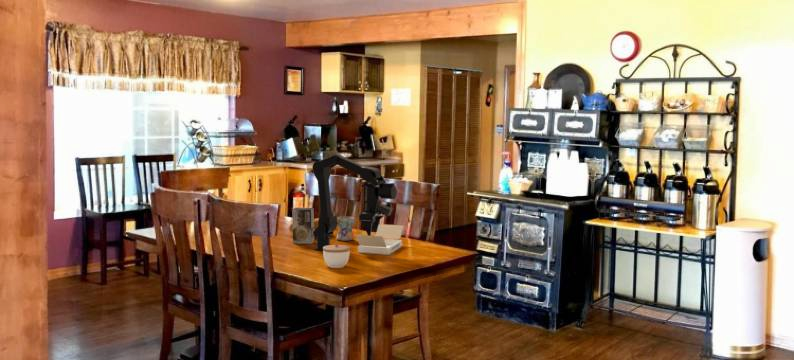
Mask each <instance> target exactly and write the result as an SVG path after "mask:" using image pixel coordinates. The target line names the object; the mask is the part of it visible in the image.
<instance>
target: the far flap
mask: <svg viewBox="0 0 794 360" xmlns="http://www.w3.org/2000/svg"><path fill="white" fill-rule="evenodd" d="M403 230H404V225H400V224H399V225H398V224H382V223H381V224H380V223H379V226H378V229H377V232H375V235H374V236H383V238H384V239H393V240H401V237H402V233H403Z"/></svg>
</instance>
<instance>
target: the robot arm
mask: <svg viewBox="0 0 794 360" xmlns="http://www.w3.org/2000/svg"><path fill="white" fill-rule="evenodd" d="M336 166H339V167H341V168H344V169H346V170H348V171H351V172H352V173H354V174H357V175H358V176H359V177H360V178H361V179H363V181H364V183H363V184H361V185H360V188H361V187H362V188H365V199H364V202H363V203H364V204H365V209H364V211H363V212H361V213H360V214H359V215H358V220H359V221H360V222H361V223H362V224H361V225H363V228H364V230H365V232H366V235H368V236H370V235H372V231H373V232H374V233H376V232H377V229H378V226H379V224H380V222H381V219H382V218H384V216H385V217H389V216H391V215H392V212H393V210H394V209H393V208H394V207H393V204H392V203H390V202H388V203H386V204H385V203H384V204H383V203H382V199H384V200H385V199H386V200H395V199H396V198H397V194H398V190H397V187H396V185H395V182H390V183H389V182H386V180H385V178H384V177H383V176H382V172H381V169H379V168H378V167H373V166H368V165H367V166H366V165H363V164H361V163H359V162H356V161H354V160H352V159H349V158H348V157H345V156H343V155H342V154H339V153H338V154H333V155H331V156H329V157H327V158H325V159H324V158H323V159H321V160H316V161H314V162H313V164H312V171H313V172H312V173H313V175H314V177H315V179H316V181H317V187H318V188H317V189H318V199H319V210H320V214H319V217H318V218H319V220H318V227H317V228H316V229H315V230H314V231H313V234H314V238H316V244H317V245H316V248H314V249H313V250H314V251H323V247H324V246H327V245H331V235H334V232H335V230H336V229H337V228H338V223H337V217H338V215H334V214H333V211H332V204H331V193H330V190H331V189H330V181H329V180H330V177H331V174H332V169H333V168H335V167H336Z"/></svg>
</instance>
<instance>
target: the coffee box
mask: <svg viewBox="0 0 794 360" xmlns="http://www.w3.org/2000/svg"><path fill="white" fill-rule="evenodd" d="M291 211H292V223H293V233H292V244H299V245H300V244H303V245H304V244H306V245H307V244H308V245H309V244H310V245H312V244H313V243H314V242H315V237H314V234H313V231H314V219H315V208H314V207H294V208H293V209H292V210H291Z"/></svg>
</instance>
